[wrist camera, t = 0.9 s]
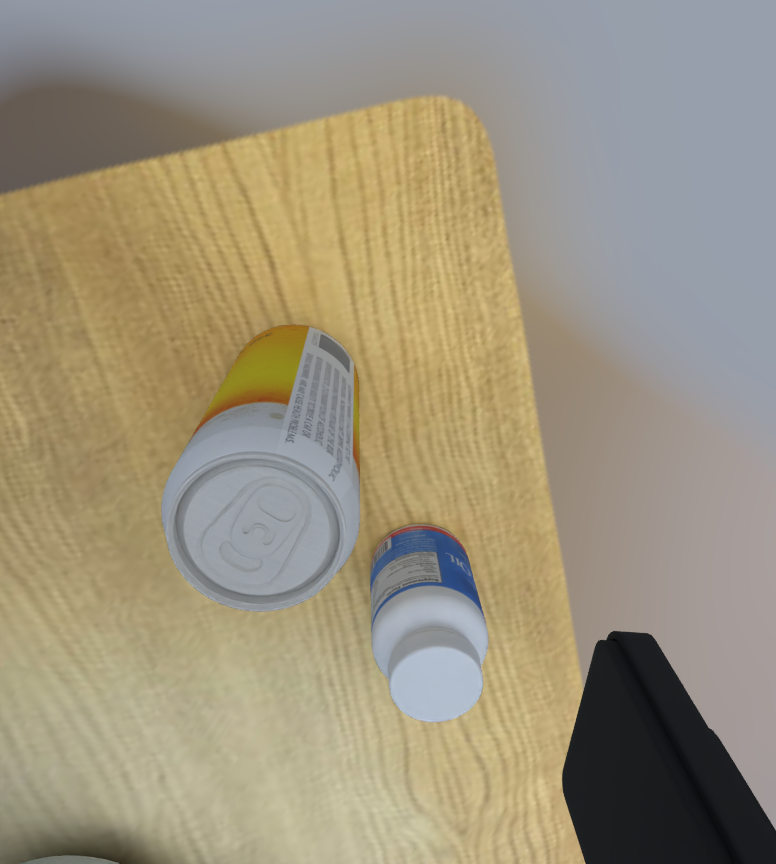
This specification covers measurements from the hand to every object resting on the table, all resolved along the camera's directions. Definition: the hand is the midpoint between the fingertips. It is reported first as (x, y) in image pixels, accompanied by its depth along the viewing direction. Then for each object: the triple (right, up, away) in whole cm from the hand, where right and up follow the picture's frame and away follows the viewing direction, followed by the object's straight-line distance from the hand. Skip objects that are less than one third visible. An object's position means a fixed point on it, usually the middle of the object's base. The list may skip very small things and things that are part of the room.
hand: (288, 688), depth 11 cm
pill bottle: (+3, -3, +28) cm, 29 cm away
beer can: (-3, +6, +24) cm, 25 cm away
